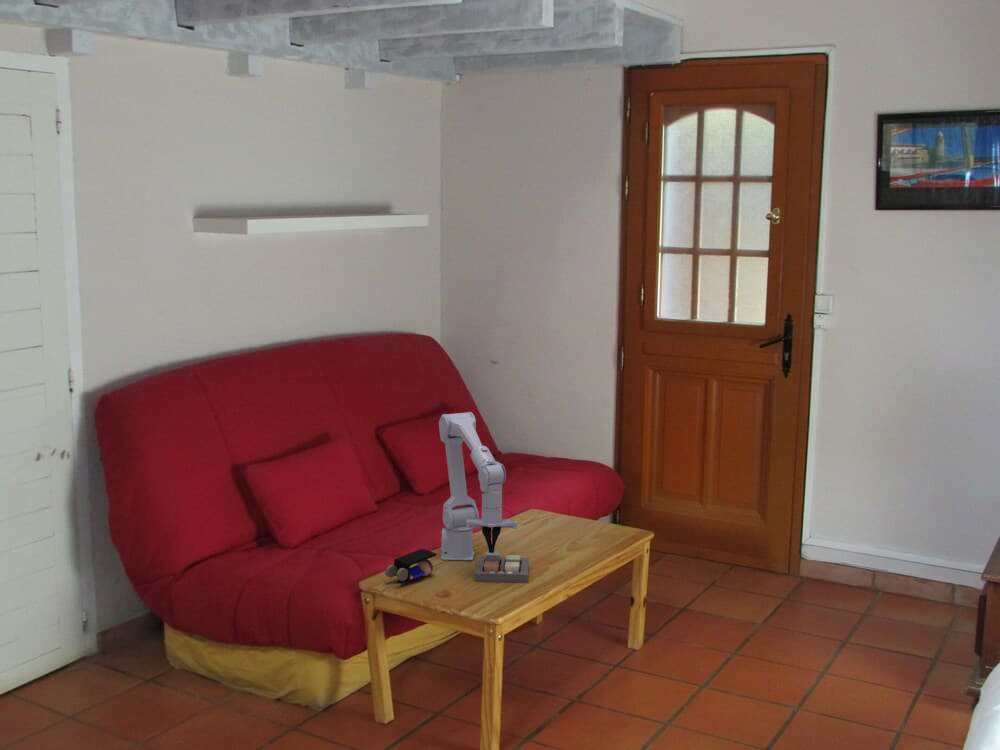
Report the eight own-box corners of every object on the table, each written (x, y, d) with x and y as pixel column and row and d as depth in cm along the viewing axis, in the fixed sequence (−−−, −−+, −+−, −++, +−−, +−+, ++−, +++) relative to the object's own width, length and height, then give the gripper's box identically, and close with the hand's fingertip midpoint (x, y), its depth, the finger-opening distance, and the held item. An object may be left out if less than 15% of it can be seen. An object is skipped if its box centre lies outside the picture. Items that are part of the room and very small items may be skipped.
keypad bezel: (474, 581, 327) (474, 572, 327) (478, 564, 342) (478, 556, 341) (527, 583, 326) (527, 574, 326) (528, 565, 341) (528, 557, 340)
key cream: (504, 573, 329) (504, 566, 328) (505, 568, 333) (505, 561, 332) (518, 573, 328) (518, 566, 328) (519, 568, 332) (519, 562, 332)
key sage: (505, 569, 335) (505, 559, 334) (506, 565, 339) (506, 555, 338) (519, 570, 335) (519, 559, 334) (520, 565, 338) (520, 555, 338)
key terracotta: (483, 572, 329) (483, 565, 329) (484, 567, 333) (484, 561, 333) (497, 572, 329) (497, 566, 328) (498, 568, 333) (498, 561, 332)
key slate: (485, 565, 335) (485, 555, 334) (486, 561, 339) (486, 550, 338) (499, 566, 335) (499, 555, 334) (499, 561, 339) (499, 551, 338)
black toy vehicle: (402, 593, 321) (439, 575, 332) (399, 568, 319) (437, 550, 330) (385, 588, 325) (422, 569, 336) (383, 563, 323) (420, 545, 334)
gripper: (465, 509, 324) (465, 555, 326) (516, 510, 323) (516, 556, 326) (467, 502, 331) (467, 548, 333) (517, 503, 330) (517, 549, 333)
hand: (491, 551), depth 330 cm, fingers closed
